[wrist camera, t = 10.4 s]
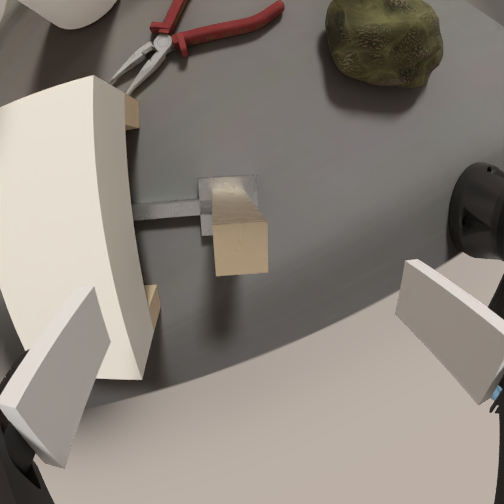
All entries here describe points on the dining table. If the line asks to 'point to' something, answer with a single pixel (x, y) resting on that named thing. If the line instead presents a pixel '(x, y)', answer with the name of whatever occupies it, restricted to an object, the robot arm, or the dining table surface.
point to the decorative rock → (384, 40)
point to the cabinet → (73, 217)
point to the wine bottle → (70, 11)
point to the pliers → (189, 37)
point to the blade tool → (223, 221)
